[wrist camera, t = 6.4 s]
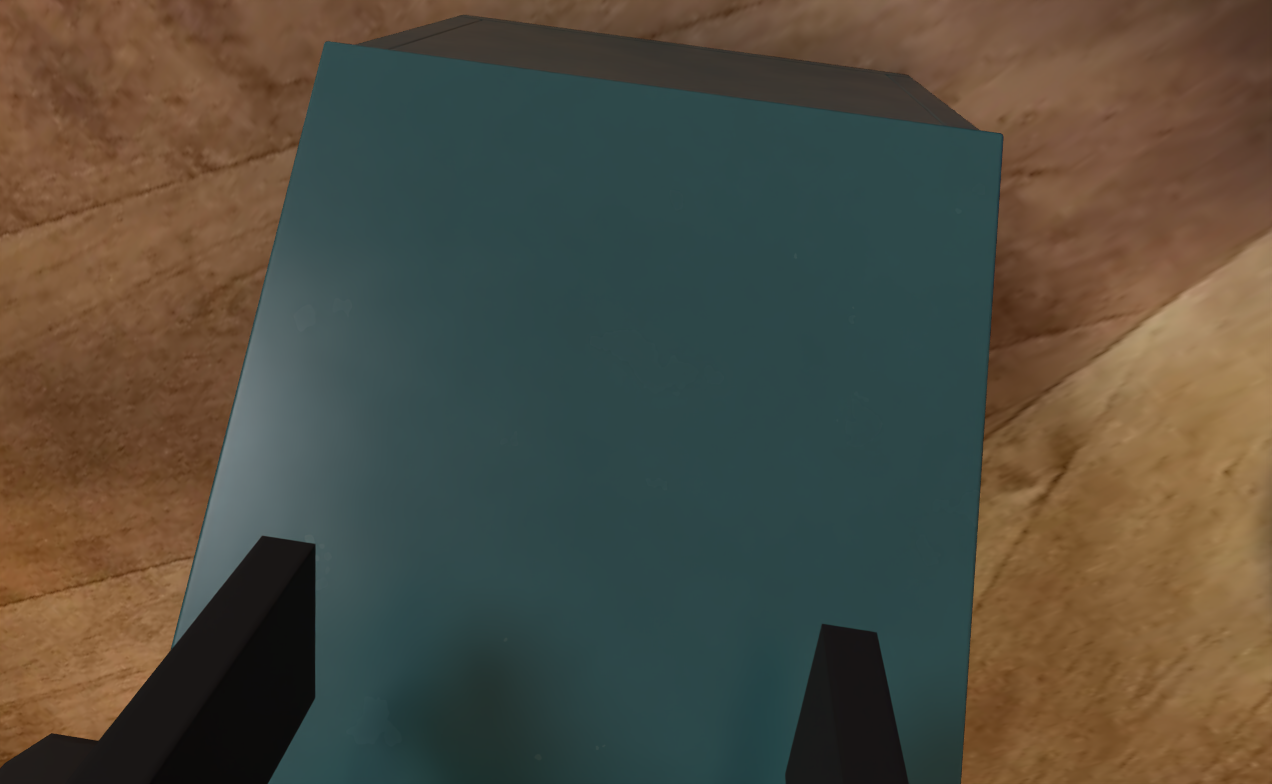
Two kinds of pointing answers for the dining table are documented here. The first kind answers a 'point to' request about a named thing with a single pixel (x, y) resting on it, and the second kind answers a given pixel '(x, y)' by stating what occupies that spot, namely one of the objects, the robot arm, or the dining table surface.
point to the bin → (676, 67)
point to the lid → (611, 422)
